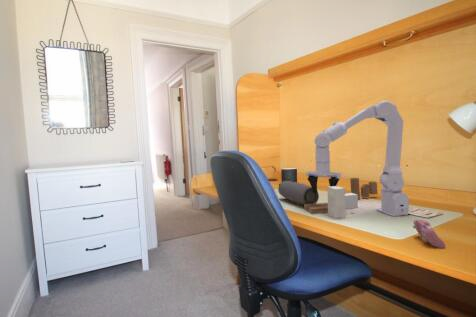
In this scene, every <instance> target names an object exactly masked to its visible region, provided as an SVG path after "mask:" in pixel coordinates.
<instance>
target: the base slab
mask: <svg viewBox="0 0 476 317" xmlns="http://www.w3.org/2000/svg"><path fill="white" fill-rule="evenodd" d="M303 207H304V210H305V211H306V212H308V213H310V214H311V215H315V214H317V215H318V214H328V202H321V203H318V202H317V203H316V204H305V205H303Z"/></svg>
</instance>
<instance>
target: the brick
mask: <svg viewBox="0 0 476 317" xmlns="http://www.w3.org/2000/svg"><path fill="white" fill-rule="evenodd" d="M354 207H357V208H358V207H359V199H358V195H357V194H354V193H351V192H348V193H346V192H345V210H347V208H348V209H354Z"/></svg>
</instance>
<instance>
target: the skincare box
mask: <svg viewBox="0 0 476 317" xmlns="http://www.w3.org/2000/svg"><path fill="white" fill-rule="evenodd" d="M345 194H346V188H345V187H341V186H339V185H336V186H330V185H329V186H327V203H328V213H327V215H328V216H329V217H330V218H333V219H335V220H340V219H346V214H345V213H346V209H345Z"/></svg>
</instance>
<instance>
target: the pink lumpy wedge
mask: <svg viewBox="0 0 476 317" xmlns="http://www.w3.org/2000/svg"><path fill="white" fill-rule="evenodd" d="M412 228H413V229H414V230H416V232H417V234H418V236H419V238H420V239H421V240H422V241H423V242H424V243H425V244H431V245H432V246H433V247H434V248H438V249H445V248H446V243H445V242H444V241H443V240H442V239H441V237H440V236H439V235H438V234H437V233H436V231H435V230H434V228H433V227H432V225H431V223H430V222H429V221H427V220H424V219H416V220H413V225H412Z"/></svg>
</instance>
